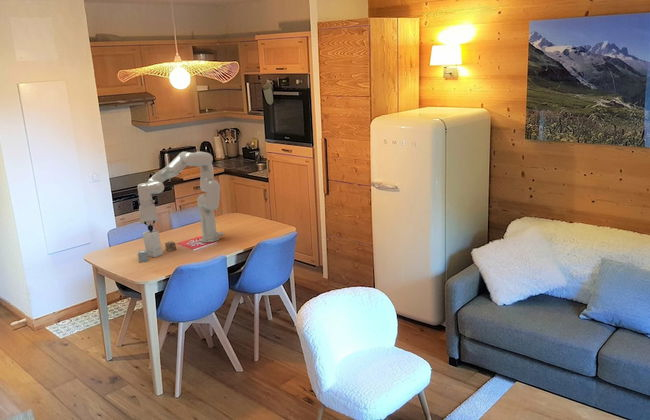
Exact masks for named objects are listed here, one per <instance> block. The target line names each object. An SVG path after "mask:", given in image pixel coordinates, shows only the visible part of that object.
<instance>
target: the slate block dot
mask: <svg viewBox="0 0 650 420" xmlns="http://www.w3.org/2000/svg"><path fill="white" fill-rule="evenodd" d="M137 257H138V262H139V263H147V262H148V261H149V256H148V253H147V250H146V249H144V250H143V249H142V250H138V252H137Z"/></svg>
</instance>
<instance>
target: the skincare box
mask: <svg viewBox="0 0 650 420" xmlns="http://www.w3.org/2000/svg"><path fill="white" fill-rule="evenodd" d="M142 236H143V237H142V238H143V244H144V250H147V253H148V257H151V258H157V257H159V256H162V255H163V248H162V243H161V237H160V231H159V230H152V232H150V231H148V230H147V231H145V232H143V233H142Z"/></svg>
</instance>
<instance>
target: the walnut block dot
mask: <svg viewBox="0 0 650 420" xmlns="http://www.w3.org/2000/svg"><path fill="white" fill-rule="evenodd" d="M164 244H165V245H164V246H165V251H167V252H173V251H177V245H176V244H177V243H176V242H175V241H174V240H171V241H168V242H164Z"/></svg>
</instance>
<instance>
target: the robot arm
mask: <svg viewBox="0 0 650 420" xmlns="http://www.w3.org/2000/svg"><path fill="white" fill-rule="evenodd" d="M213 160H214V158H213V155H212V153H209V152H205V151H195V152H189V151H182V152H179V154H177V156H176V157H174V158H173V160H171V161H170V162H169V163H168V164H167V165H166V166H165V167H163V168H162V169H160V170H158V171H157V172H156V173H154V174H153V175H152V176H151V177H150V178H149V179H148V181H147V182H143V183H139V184H137V187H136V188H137V194H138V199H139V205H138V212H139V213H138V214H139V220H140V224H143V225H146V227H147V231H150V232H152V231H154V226H153V225H154V224H155V223H156V222H159V219H158V213H157V210H156V206H155V202H156V200H155V199H153V196H152V195H154V194H155V195H156V194H161V193H163V192H164V190H165V184H164V182H165V181H167V180H169V179H173V178H174V177H177V176H178V175H180V173H181V172H182V171H183V170H184V169H185V168H186V167H187V166H188V167H199V169H200V179H199V181H200V183H199V189H200V190H201V191H202V192H204V193H202V194H200V195H199V196H198V197H197V199H196V205H197V208H198V211H199V217H200V225H201V233H202V237H201V239H200V241H201V242H202V243H212V242H213V243H214V242H216V241H217V242H218V241H219V240H220V239H221V237H220V236H225V232H221V231H220V232H218V230H217V224H216V223H217V222H216V214H215V210H217V209H218V208H219V205H220V199H221V184H220V182H219V181H218V180H217V179H214V178H215V177H214V175H215V174H214V173H215V172H214V171H215V169H214V165H213ZM149 222H150V223H149Z"/></svg>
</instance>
